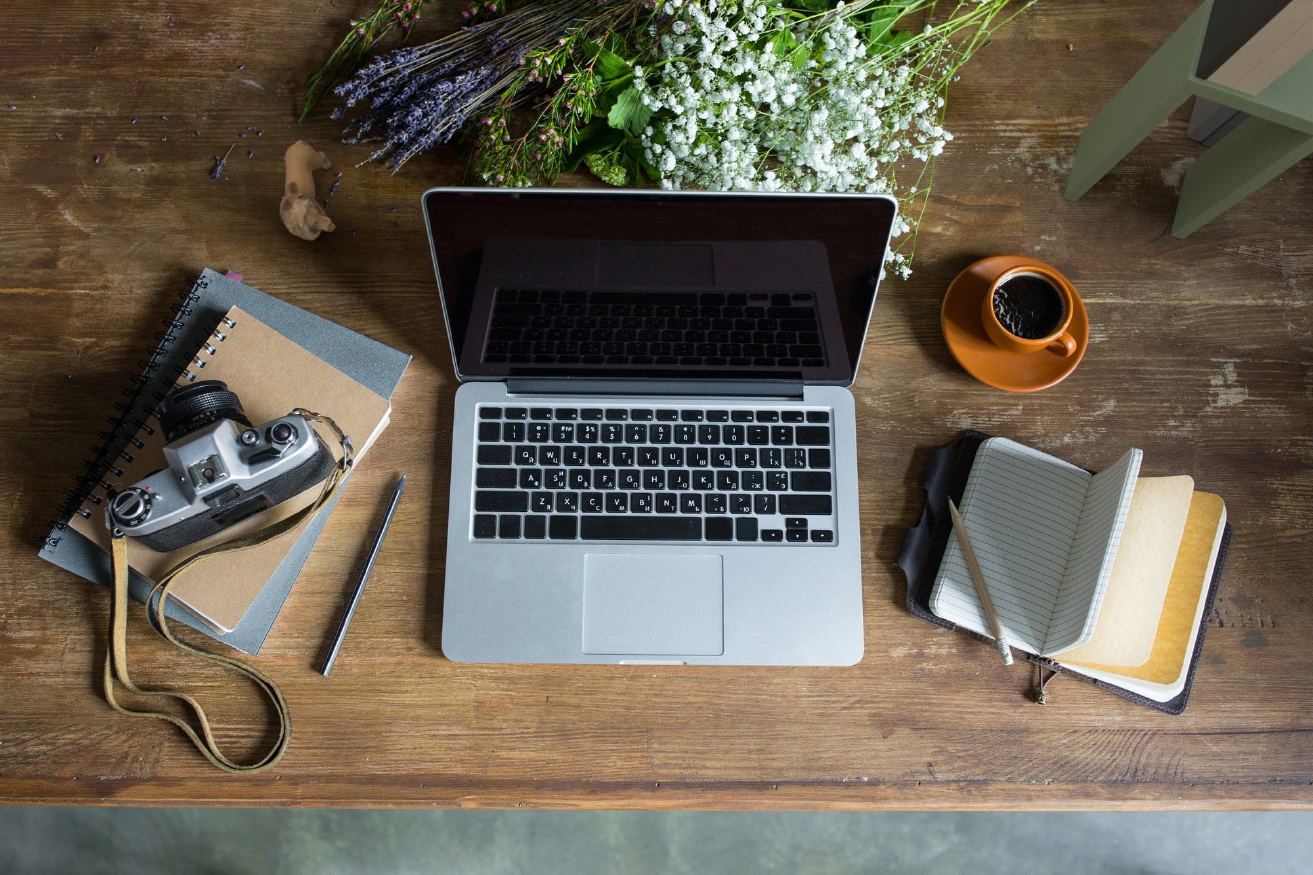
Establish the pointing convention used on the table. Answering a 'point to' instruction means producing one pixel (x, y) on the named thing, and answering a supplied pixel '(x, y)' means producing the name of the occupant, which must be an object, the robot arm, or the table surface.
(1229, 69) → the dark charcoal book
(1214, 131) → the grey books
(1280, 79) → the shelf
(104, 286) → the table surface
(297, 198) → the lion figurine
